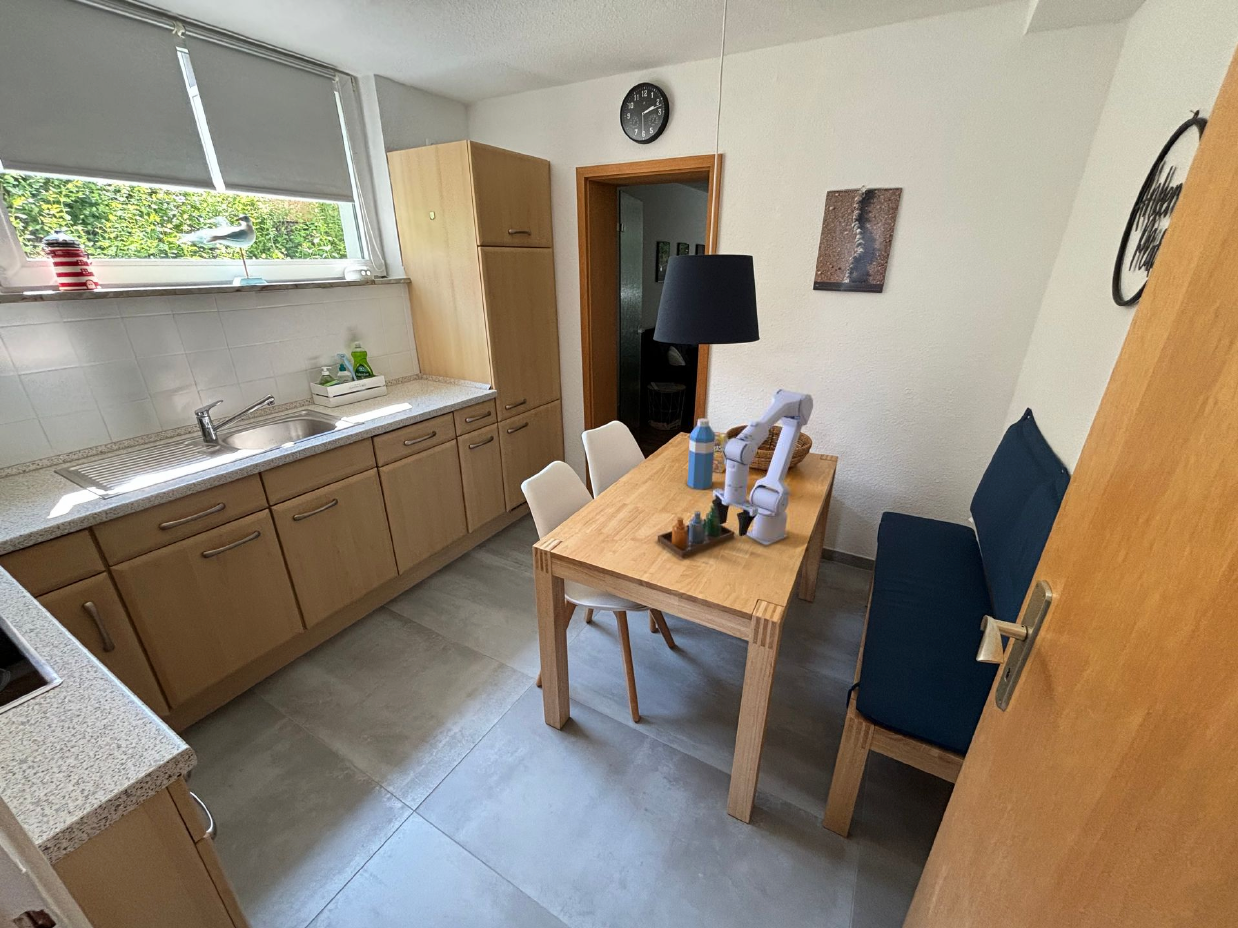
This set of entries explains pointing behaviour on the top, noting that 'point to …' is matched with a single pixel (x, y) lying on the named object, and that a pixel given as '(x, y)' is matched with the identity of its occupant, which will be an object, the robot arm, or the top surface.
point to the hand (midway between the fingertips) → (732, 529)
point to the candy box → (719, 452)
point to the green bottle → (712, 523)
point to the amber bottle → (679, 534)
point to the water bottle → (701, 455)
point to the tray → (695, 547)
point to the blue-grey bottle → (696, 528)
